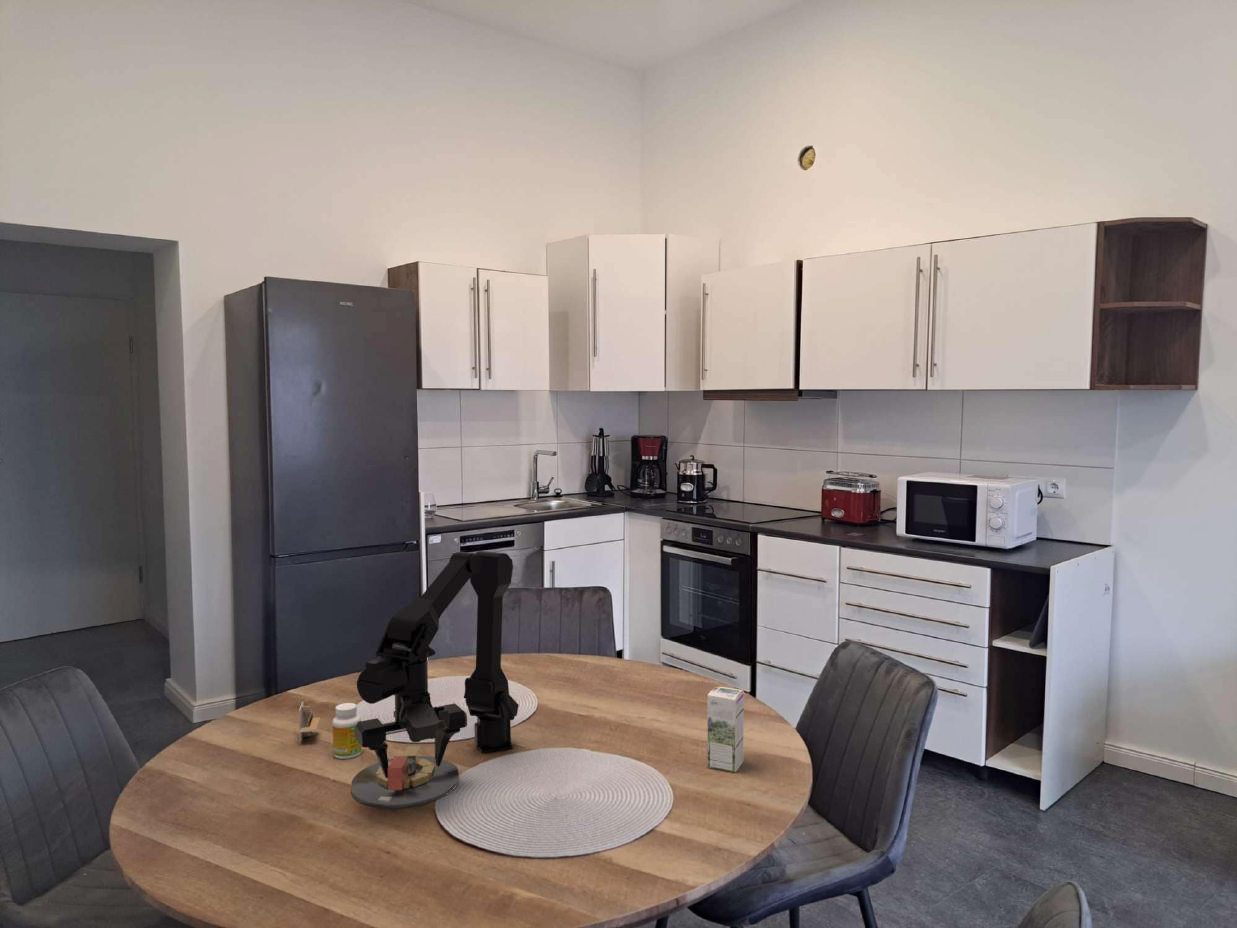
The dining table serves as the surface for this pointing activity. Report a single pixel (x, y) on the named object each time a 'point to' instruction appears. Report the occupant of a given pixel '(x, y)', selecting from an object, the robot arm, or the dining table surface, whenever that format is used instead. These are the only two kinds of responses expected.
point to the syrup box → (725, 728)
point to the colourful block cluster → (406, 771)
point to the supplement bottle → (345, 732)
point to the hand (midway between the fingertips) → (412, 771)
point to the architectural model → (307, 721)
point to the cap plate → (381, 797)
